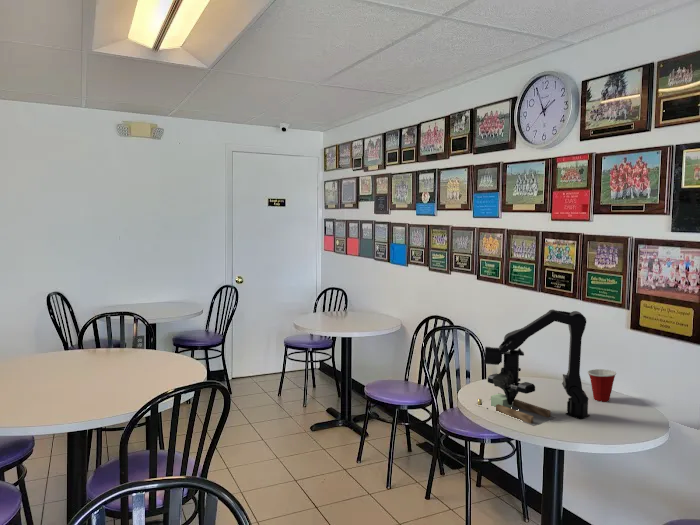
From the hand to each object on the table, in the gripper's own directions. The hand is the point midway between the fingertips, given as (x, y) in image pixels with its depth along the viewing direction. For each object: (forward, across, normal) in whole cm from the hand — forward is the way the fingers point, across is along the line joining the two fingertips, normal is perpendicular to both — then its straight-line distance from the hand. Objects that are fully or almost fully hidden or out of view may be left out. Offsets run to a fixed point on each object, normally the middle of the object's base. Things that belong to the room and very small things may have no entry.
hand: (510, 404), depth 209 cm
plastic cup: (+2, +14, +41) cm, 43 cm away
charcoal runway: (+2, +2, 0) cm, 3 cm away
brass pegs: (+2, -10, 0) cm, 10 cm away
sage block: (+2, -4, 0) cm, 5 cm away
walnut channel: (+2, +6, 0) cm, 6 cm away
